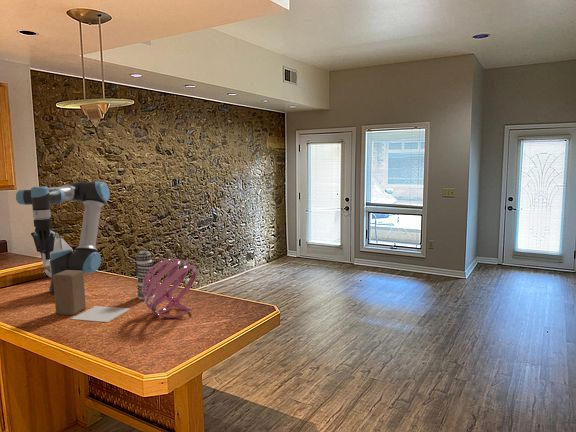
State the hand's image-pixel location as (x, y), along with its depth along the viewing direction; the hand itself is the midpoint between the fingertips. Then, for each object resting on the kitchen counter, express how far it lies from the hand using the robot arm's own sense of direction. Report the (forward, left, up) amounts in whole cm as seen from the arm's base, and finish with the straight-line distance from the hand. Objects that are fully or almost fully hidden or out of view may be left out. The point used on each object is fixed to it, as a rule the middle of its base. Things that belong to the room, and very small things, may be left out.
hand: (46, 266), depth 215 cm
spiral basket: (-8, +62, -23) cm, 67 cm away
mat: (0, +29, -23) cm, 37 cm away
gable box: (-61, -49, -23) cm, 82 cm away
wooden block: (0, +12, -23) cm, 26 cm away
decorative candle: (-28, +36, -23) cm, 51 cm away
